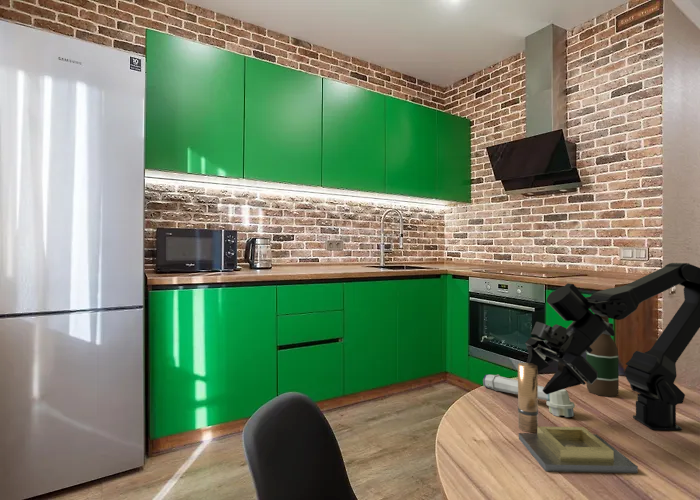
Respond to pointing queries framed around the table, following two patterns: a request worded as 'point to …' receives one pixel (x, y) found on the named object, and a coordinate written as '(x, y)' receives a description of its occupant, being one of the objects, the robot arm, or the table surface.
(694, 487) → the table surface
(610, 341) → the beer bottle
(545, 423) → the table surface
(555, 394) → the light grey long piece
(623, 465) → the framed base plate
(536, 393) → the tube
